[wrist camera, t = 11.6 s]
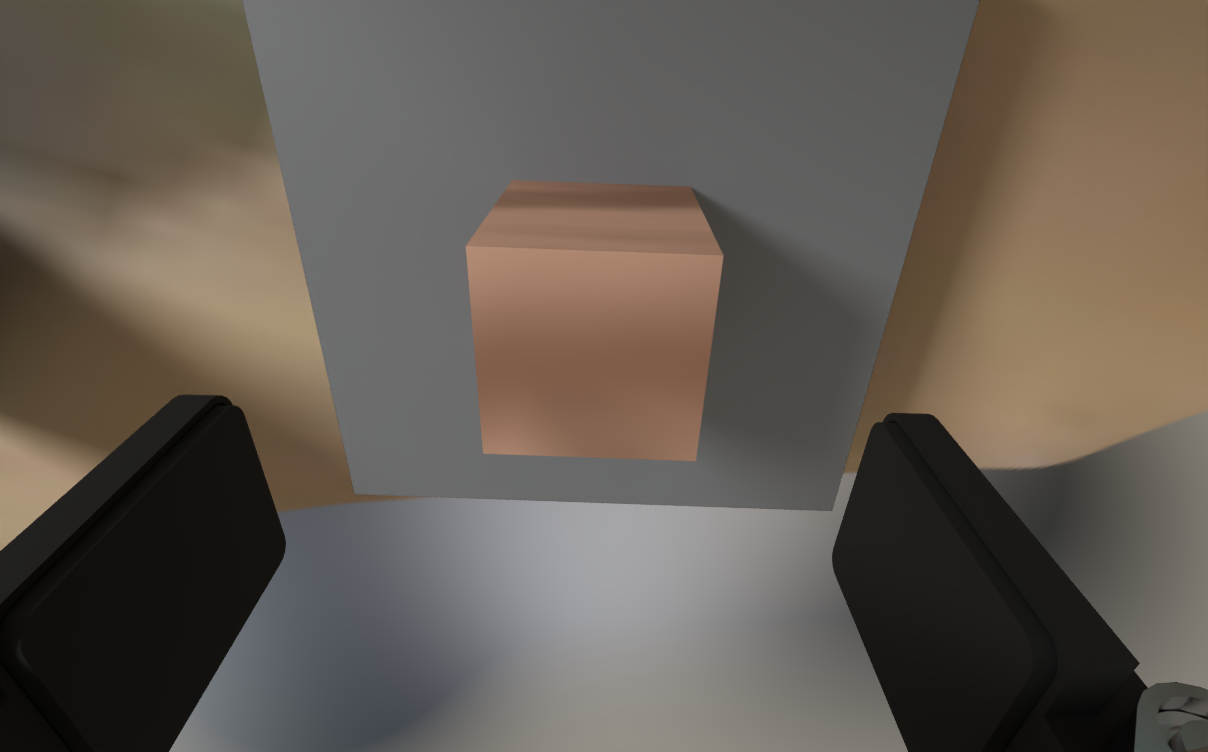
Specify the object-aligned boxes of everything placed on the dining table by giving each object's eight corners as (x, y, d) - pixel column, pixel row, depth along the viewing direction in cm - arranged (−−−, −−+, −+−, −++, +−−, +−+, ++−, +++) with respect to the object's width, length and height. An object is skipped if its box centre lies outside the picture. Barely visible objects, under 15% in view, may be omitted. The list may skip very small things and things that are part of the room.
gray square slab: (297, -84, 17) (217, -113, 14) (926, -62, 17) (1004, -86, 14) (389, 432, 26) (354, 494, 23) (803, 447, 26) (831, 511, 23)
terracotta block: (511, 180, 17) (465, 245, 12) (690, 186, 17) (723, 255, 12) (518, 340, 19) (483, 453, 14) (674, 345, 19) (695, 461, 14)
